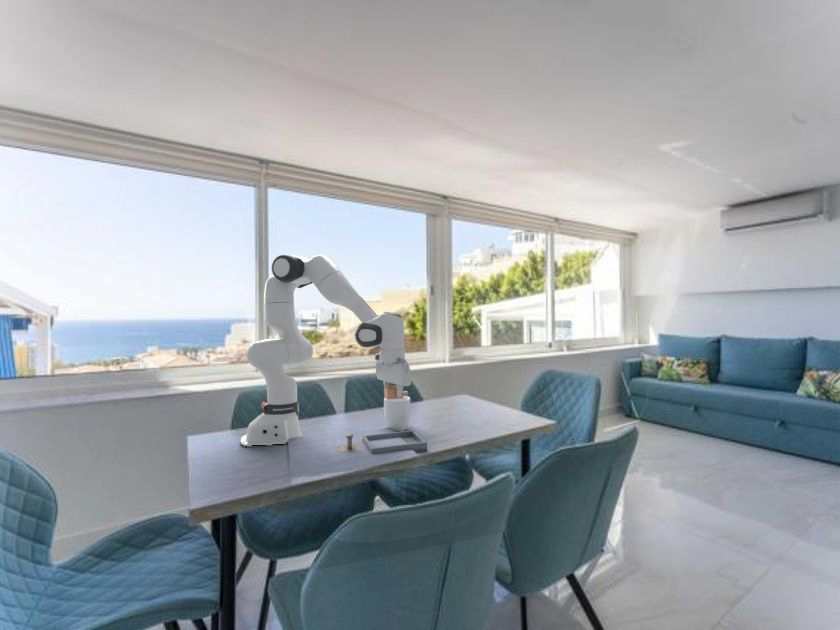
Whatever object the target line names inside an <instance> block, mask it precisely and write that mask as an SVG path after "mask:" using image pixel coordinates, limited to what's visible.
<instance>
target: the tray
mask: <svg viewBox="0 0 840 630" xmlns="http://www.w3.org/2000/svg"><path fill="white" fill-rule="evenodd" d="M397 437H398V438H399V437H400V438H401V440H403V441H404V442H405V443H403V444H402V443H401V444H393V445H392V444H391V445H385V446H377V447H376V446H375V447H374V446H373V445H372V443H371V442H370V441H371V440H379V439H388V438H389V439H390V438H397ZM361 440H362V441H363V443H364V444H365V446H366V447H367V449H368V451H369V453H370V454H379V453H386V452H394V451H395V452H396V451H403V450H412V451H413V452H414V453H420V452H421V453H422V452H427V451H428V441H426V440H425V438H423V437H422V436H420V435H419V434H418V433H417V432H416V431H415V430H414V429H409V430H403V431H399V432H395V431H392V432H383V433H375V434H373V433H372V434H365V435H362V439H361Z"/></svg>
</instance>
